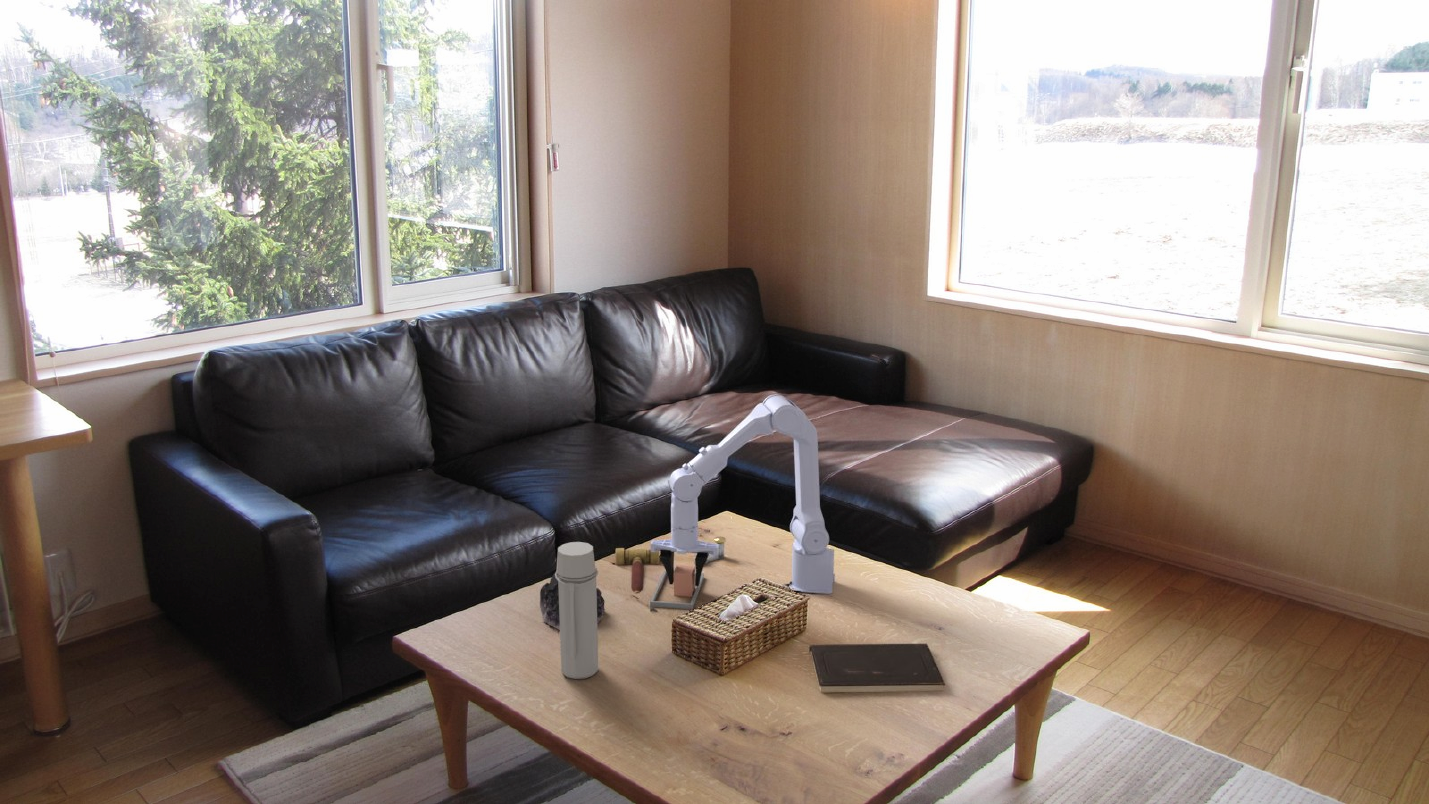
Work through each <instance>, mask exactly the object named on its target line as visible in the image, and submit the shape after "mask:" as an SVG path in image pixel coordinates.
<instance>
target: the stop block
mask: <svg viewBox="0 0 1429 804" xmlns="http://www.w3.org/2000/svg"><path fill="white" fill-rule="evenodd" d="M695 573H696V566H695V565H685V564H684V565H682V564H676V567H674V582H673V596H674V597H675V596H678V597H691V598H693V595H694V593H695V590H696V586H695Z"/></svg>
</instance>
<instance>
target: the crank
mask: <svg viewBox="0 0 1429 804" xmlns="http://www.w3.org/2000/svg"><path fill="white" fill-rule="evenodd" d="M726 540H727V539H726V537H724V536H716V537H714V540H713V541H714V543H715V544H719V553H718V556H713V554H709V556H708V558H707V561H706V563H705V565H704V566H706V565H707V564H708V563H710V562H712V561H716V560H721V559H724V558H725V543H726ZM696 555H697V554H695V555H694V557H693V558H694V559H693V561H694V562H693V563H694V564H695V557H696Z"/></svg>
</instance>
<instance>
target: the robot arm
mask: <svg viewBox="0 0 1429 804" xmlns="http://www.w3.org/2000/svg"><path fill="white" fill-rule="evenodd" d="M773 429H774V430H775V431H776V432H777V433H780V434H782V435H785V436H789V437H790V438H792V439H793V456H794V458H793V459H794V478H795V479H794V480H795V483H794V484H795V504H796V505H795V506H794V508H793V516H792V519H791V520H790V521H791V522H790V524H789V530H790V534H791V535H792V536H793V537H794V540H793V543H792V549H791V550H792V555H791V556H792V557H791V581H789V585H788V588H789V587H791V588H792V589H794V590H797V591H801V592H800V593H810V594H811V593H813V594H824V595H825V594H827V595H829V594H830V595H831V594H833V586H834V582H835V581H836V580H835V578H836V573H834V571H835V549H833V548H828V545H829V542H830V536H829V533H828V531H827V529H826V526H825V519H824V517H823V513H822V510H821V505H820V504H821V503H820V502H821V501H820V497H821V496H820V471H819V465H820V464H819V445H818V443H819V442H818V441H819V440H818V438H819V437H818V430H817V428H816V426H815V425H814V424H813V422H811V420H810V419H809V418H808V417H807V415H806V413H805V412H804V411H803V410H802V409H800V408H799V407H798V406H797V404H795V403H794V402H793V401H792V400H790V399H789V398H788V397H785V396H784V395H782V394H779V393H778V394H777V393H776V394H775V393H774V394H770V395H768V396H767V397H766V398H765V399H764V400H763V402H760V403H758V404H757V405H756V406H755V407H754V408H753V409H752V410H751V412H750V413H749V414H748V415H747V416H746V417H745V418H744V419H743V420H742V421H741V422H740V423H739V424H737V426H735V428H734V429H733V430H732V431H731V432H729V433H728V434H727V435H726V436H725V437H724V438H723V439H722V440H721V441H720V442H719V443H718V444H709V445H707V446H706V447H705V446H702V447H701V448H699V450H698V452H699V453H698V454H697V455H696V456H695V457H694V458H692V459H691V460H689V462H688V463H684V464H682V467H681V468H677V469H675V470H674V471H672V472H671V474H670V477H669V479H668V480H667V484H668V487H669V488H670V489H671V499H670V500H671V504H670V537H671V538H669V539H659V540H657V539H652V540H651V542H650V545H649V546H650V549H651V552H656V551H659V562H661V563H662V566H663V568H664V569H665V570H664V571H666V572H667V575H668V576H667V578H668V584H669V585H673V586H674V570H675V566H674V563H675V562H674V561H675V553H677V554H679V555H686V554H695V555H696V557H695V563H694V566H695V573H696V578H695V587H697V586H699V584H700V578H701V573H702V572H703V569H704V567H705V566H706V565H705V563H706V561H707V558H708V556H709V555H711V554H713V556H718V553H719V544H716V543H712V542H706V541H702V540H699V505H698V497H699V496H701V495H700V494H701V493H702V487H703V486H705V485H706V484H707V483H708V482H710V480H712V479H713V478H714V477H716V476H717V474H719V473H720V472H721V471H722V470H723V469H725V468H726V467H727V466H728V458H730V457H731V456H732V455H733V454H734V453H735V452H736V451H738V450H739V449H741V448H742V447H743V446H744V445H746V444H747V443H748V442H749V441H751V440H752V439H753V438H755V437H756V436H758V435H774V431H773ZM790 585H791V586H790Z"/></svg>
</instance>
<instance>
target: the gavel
mask: <svg viewBox="0 0 1429 804" xmlns="http://www.w3.org/2000/svg"><path fill="white" fill-rule="evenodd" d="M659 556H660V551H656V552H651V548H650V549H646V548H635V549H634V548H629V549H625V547H618V548H617V547H616V548H615V565H617V566H620V565H622V566H623V565H624V566H625V564H626V565H627V564H628V565H632V566H631V581H630V582H631V586H630V587H631V590H632V592H633V593H634V594H640V593H641V592H642V590H643V588H644V586H643V585H644V565H647V564H650V565H659V564H660V558H659ZM643 564H644V565H643ZM633 597H634V598H635V600H638V599H639V597H637V596H636V595H633Z"/></svg>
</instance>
